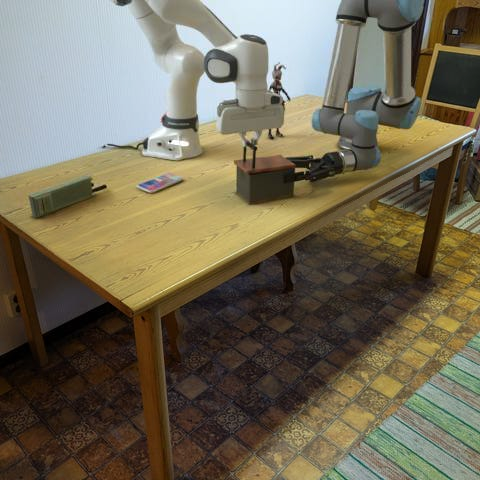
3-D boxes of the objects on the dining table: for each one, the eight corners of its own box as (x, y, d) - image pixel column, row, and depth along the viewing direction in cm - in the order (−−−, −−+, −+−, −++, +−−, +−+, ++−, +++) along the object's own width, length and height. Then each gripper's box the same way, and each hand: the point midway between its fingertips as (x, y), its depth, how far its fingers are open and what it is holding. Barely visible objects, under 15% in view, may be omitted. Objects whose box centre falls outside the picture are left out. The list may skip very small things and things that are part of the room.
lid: (247, 173, 146) (248, 148, 143) (233, 163, 154) (234, 138, 150) (295, 167, 153) (297, 142, 149) (280, 157, 160) (282, 133, 156)
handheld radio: (30, 215, 144) (102, 188, 161) (37, 219, 142) (109, 191, 159) (26, 193, 140) (100, 168, 157) (33, 197, 138) (107, 171, 155)
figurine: (266, 142, 202) (269, 63, 187) (256, 138, 206) (258, 61, 191) (291, 134, 211) (296, 59, 196) (280, 131, 215) (284, 57, 200)
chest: (249, 204, 152) (249, 175, 147) (236, 193, 159) (236, 164, 154) (293, 196, 158) (295, 167, 153) (278, 185, 165) (280, 157, 160)
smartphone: (184, 177, 167) (150, 191, 157) (184, 180, 167) (151, 194, 157) (168, 171, 171) (134, 185, 161) (168, 174, 171) (135, 188, 161)
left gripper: (221, 104, 135) (221, 153, 142) (288, 97, 143) (285, 144, 149) (212, 98, 140) (213, 146, 147) (277, 92, 147) (275, 138, 154)
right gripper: (356, 185, 158) (294, 197, 150) (317, 162, 176) (260, 172, 167) (359, 163, 155) (296, 174, 146) (319, 141, 172) (261, 150, 163)
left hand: (250, 145), depth 148 cm, fingers closed on lid
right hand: (277, 173), depth 157 cm, fingers closed on chest, 9 cm apart
